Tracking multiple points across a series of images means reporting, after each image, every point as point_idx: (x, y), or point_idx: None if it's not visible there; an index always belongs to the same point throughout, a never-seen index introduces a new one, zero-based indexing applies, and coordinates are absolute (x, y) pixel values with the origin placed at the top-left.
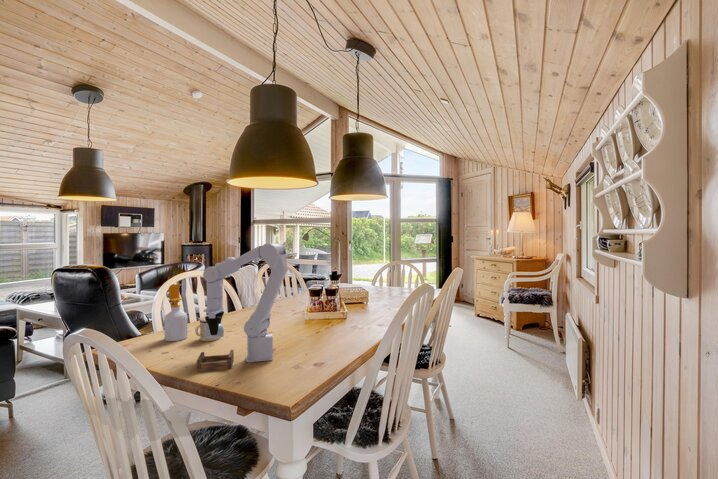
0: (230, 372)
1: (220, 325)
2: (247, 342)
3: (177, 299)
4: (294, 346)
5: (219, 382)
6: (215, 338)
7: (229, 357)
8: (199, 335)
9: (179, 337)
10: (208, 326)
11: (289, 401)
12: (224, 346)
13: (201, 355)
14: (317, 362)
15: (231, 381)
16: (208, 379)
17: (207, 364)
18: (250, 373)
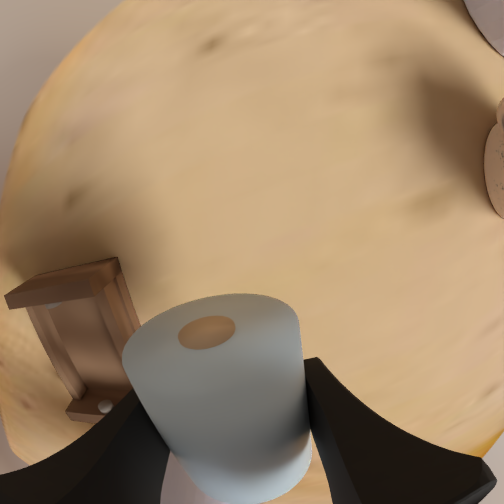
0: (63, 389)
1: (208, 490)
2: (169, 487)
3: None
4: (314, 493)
5: (8, 365)
6: (496, 204)
7: (68, 414)
8: (498, 120)
9: (487, 27)
10: (155, 414)
11: (19, 455)
12: (397, 287)
13: (46, 298)
14: None
15: (23, 391)
16: (8, 333)
17: (37, 326)
18: (76, 431)
